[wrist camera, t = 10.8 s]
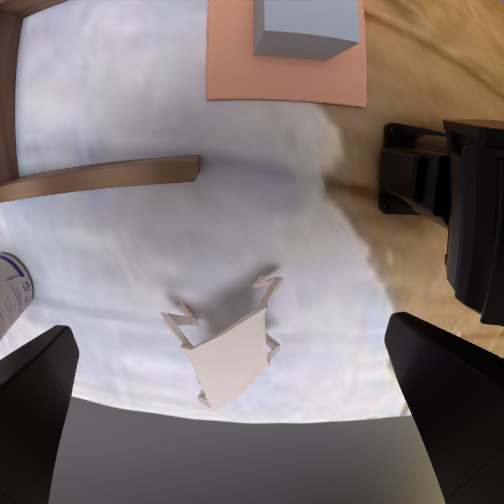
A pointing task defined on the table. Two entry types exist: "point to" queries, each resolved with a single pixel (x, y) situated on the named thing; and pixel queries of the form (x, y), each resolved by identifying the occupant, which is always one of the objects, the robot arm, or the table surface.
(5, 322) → the energy drink
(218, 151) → the table surface
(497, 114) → the table surface
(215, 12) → the terracotta mat
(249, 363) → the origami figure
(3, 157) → the walnut u-shaped frame
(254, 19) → the slate block
